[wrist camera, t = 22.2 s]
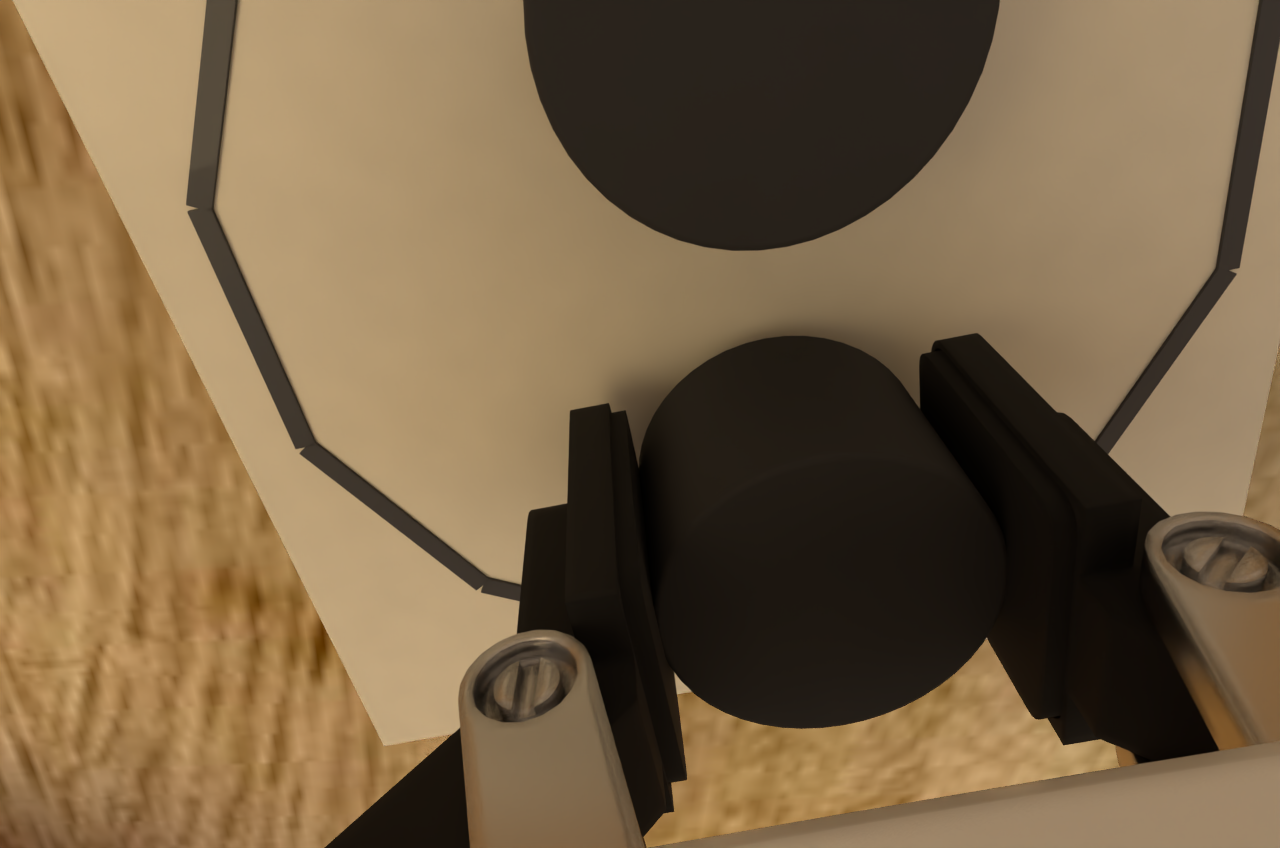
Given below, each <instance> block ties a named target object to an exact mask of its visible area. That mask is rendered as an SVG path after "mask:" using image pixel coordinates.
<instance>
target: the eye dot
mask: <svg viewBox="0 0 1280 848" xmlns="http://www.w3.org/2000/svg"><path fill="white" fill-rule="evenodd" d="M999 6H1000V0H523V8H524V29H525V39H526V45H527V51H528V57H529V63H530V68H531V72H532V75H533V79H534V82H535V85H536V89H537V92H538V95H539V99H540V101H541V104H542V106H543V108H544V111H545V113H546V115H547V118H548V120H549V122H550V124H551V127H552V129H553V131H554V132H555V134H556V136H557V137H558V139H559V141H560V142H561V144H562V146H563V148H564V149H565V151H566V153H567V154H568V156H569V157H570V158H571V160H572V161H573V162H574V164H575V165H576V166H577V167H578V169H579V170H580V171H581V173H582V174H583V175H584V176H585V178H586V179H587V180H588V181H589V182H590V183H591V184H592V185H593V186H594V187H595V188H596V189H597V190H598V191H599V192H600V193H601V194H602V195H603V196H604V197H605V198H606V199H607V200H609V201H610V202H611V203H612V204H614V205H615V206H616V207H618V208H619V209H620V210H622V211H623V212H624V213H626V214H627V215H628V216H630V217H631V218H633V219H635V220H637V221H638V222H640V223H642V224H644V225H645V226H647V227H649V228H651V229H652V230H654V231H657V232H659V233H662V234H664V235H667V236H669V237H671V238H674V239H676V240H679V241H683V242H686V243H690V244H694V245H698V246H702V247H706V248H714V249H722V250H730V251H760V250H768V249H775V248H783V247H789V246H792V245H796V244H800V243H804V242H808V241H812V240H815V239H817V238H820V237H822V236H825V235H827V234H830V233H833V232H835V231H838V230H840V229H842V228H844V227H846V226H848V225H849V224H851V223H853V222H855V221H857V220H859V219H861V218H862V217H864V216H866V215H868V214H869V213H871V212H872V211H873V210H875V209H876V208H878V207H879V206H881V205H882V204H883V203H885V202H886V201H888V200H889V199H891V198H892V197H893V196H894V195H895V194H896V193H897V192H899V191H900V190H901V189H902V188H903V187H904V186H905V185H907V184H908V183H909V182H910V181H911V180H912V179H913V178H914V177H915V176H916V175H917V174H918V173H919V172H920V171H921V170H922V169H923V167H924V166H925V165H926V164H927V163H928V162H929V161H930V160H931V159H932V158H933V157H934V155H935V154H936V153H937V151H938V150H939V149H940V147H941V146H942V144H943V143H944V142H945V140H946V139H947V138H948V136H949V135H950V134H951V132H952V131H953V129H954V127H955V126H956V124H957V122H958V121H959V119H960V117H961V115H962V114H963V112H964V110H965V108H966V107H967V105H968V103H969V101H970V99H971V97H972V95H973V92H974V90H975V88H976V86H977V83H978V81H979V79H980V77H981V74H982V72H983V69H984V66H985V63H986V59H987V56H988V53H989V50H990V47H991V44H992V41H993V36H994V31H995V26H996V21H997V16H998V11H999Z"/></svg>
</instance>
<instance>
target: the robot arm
mask: <svg viewBox="0 0 1280 848" xmlns="http://www.w3.org/2000/svg"><path fill="white" fill-rule="evenodd" d="M919 384H920V410H921V411H922V413H923V414H924V415H925V417H926V418H927V420H928V421H929V422H930V424H931V425H932V427H933V428H934V429H935V431H936V432H937V434H938V435H939V437H940V438H941V439H942V441H943V442H944V444H945V445H946V446H947V448H948V449H949V451H950V452H951V453H952V455H953V456H954V458H955V459H956V461H957V462H958V463H959V465H960V466H961V468H962V469H963V470H964V472H965V473H966V475H967V476H968V477H969V479H970V480H971V482H972V483H973V485H974V486H975V487H976V489H977V490H978V492H979V493H980V494H981V496H982V497H983V499H984V500H985V501H986V503H987V504H988V506H989V507H990V509H991V510H992V512H993V513H994V515H995V516H996V518H997V520H998V523H999V525H1000V527H1001V530H1002V532H1003V534H1004V538H1005V544H1006V550H1007V566H1006V589H1005V598H1004V602H1003V605H1002V609H1001V611H1000V613H999V616H998V618H997V620H996V622H995V624H994V626H993V628H992V630H991V631H990V633H989V634H988V636H987V639H988V641H989V642H990V644H991V646H992V648H993V649H994V651H995V653H996V655H997V656H998V658H999V660H1000V662H1001V663H1002V665H1003V667H1004V669H1005V670H1006V672H1007V674H1008V676H1009V677H1010V679H1011V681H1012V683H1013V684H1014V686H1015V688H1016V690H1017V691H1018V693H1019V695H1020V697H1021V698H1022V700H1023V702H1024V704H1025V705H1026V707H1027V709H1028V711H1029V712H1030V714H1031V715H1032V716H1033V717H1034V718H1035V719H1038V720H1039V719H1045V718H1048V720H1049V721H1050V723H1051V725H1052V727H1053V728H1054V730H1055V732H1056V733H1057V735H1058V737H1059V738H1060V740H1061V742H1062V743H1063V745H1068V744H1074V743H1080V742H1086V741H1092V740H1098V739H1102V740H1104V741H1106V742H1109V743H1111V744H1114V745H1116V753H1117V758H1118V763H1119V766H1120V767H1119V768H1113V769H1107V770H1101V771H1095V772H1089V773H1083V774H1077V775H1071V776H1065V777H1059V778H1053V779H1047V780H1041V781H1035V782H1029V783H1023V784H1017V785H1011V786H1005V787H999V788H993V789H987V790H981V791H975V792H969V793H964V794H958V795H952V796H946V797H940V798H934V799H928V800H922V801H916V802H910V803H905V804H899V805H893V806H887V807H881V808H875V809H869V810H863V811H857V812H851V813H846V814H840V815H834V816H828V817H823V818H817V819H811V820H805V821H800V822H794V823H788V824H782V825H777V826H771V827H765V828H759V829H754V830H748V831H742V832H736V833H731V834H725V835H719V836H713V837H708V838H702V839H696V840H690V841H685V842H679V843H673V844H668V845H662V846H656V847H650V848H1280V530H1278V529H1277V528H1275V527H1273V526H1271V525H1269V524H1266V523H1263V522H1260V521H1257V520H1254V519H1251V518H1248V517H1245V516H1240V515H1234V514H1229V513H1223V512H1197V511H1196V512H1190V513H1184V514H1177V515H1174V516H1170V515H1168V514H1167V513H1166V512H1165V511H1164V510H1163V509H1162V508H1161V507H1160V506H1159V505H1158V504H1157V503H1156V502H1155V501H1154V500H1153V499H1152V498H1151V497H1150V496H1149V495H1148V494H1147V493H1146V492H1145V491H1144V490H1143V489H1142V488H1141V487H1140V486H1139V485H1138V484H1137V483H1136V482H1135V481H1134V480H1133V479H1132V478H1131V477H1130V476H1129V475H1128V474H1127V473H1126V472H1125V471H1124V470H1123V469H1122V468H1121V467H1120V466H1119V465H1118V464H1117V463H1116V462H1115V461H1114V460H1113V459H1112V458H1111V457H1110V456H1109V455H1108V454H1107V453H1106V452H1105V451H1104V450H1103V449H1102V448H1101V447H1100V446H1099V445H1098V444H1097V443H1096V442H1095V441H1094V440H1093V439H1092V438H1091V437H1090V436H1089V435H1088V434H1087V433H1086V432H1085V431H1084V430H1083V429H1082V428H1081V427H1080V426H1079V425H1078V424H1077V423H1076V422H1075V421H1074V420H1073V419H1072V418H1071V417H1069V416H1068V415H1066V414H1065V413H1060V412H1056V411H1055V410H1054V409H1053V408H1052V407H1051V406H1050V405H1049V404H1048V403H1047V402H1046V401H1045V400H1044V399H1043V398H1042V397H1041V396H1040V395H1039V394H1038V393H1037V392H1036V391H1035V390H1034V389H1033V388H1032V386H1031V385H1030V384H1029V383H1028V382H1027V381H1026V380H1025V379H1024V378H1023V377H1022V376H1021V375H1020V374H1019V373H1018V372H1017V371H1016V370H1015V369H1014V368H1013V367H1012V366H1011V365H1010V364H1009V363H1008V362H1007V361H1006V360H1005V359H1004V358H1003V357H1002V356H1001V355H1000V354H999V353H998V352H997V351H996V350H995V349H994V348H993V347H992V346H991V345H990V344H989V343H988V342H987V341H986V340H985V339H984V338H983V337H982V336H981V335H980V334H978V333H974V334H968V335H963V336H958V337H953V338H947V339H942V340H937V341H935V342H934V343H933V345H932V349H931V352H929V353H924V354H921V356H920V360H919ZM458 708H459V720H460V728H459V729H458V730H457V731H456V732H455V733H453V734H452V735H451V736H450V737H449V738H448V739H447V740H446V741H444V742H443V743H442V744H441V745H440V746H439V747H438V748H437V749H435V750H434V751H433V752H432V753H431V754H430V755H429V756H428V757H426V758H425V759H424V760H423V761H422V762H421V763H420V764H418V765H417V766H416V767H415V768H414V769H413V770H412V771H411V772H409V773H408V774H407V775H406V776H405V777H404V778H403V779H402V780H400V781H399V782H398V783H397V784H396V785H395V786H394V787H393V788H391V789H390V790H389V791H388V792H387V793H386V794H385V795H384V796H382V797H381V798H380V799H379V800H378V801H377V802H376V803H374V804H373V805H372V806H371V807H370V808H369V809H368V810H367V811H365V812H364V813H363V814H362V815H361V816H360V817H359V818H358V819H356V820H355V821H354V822H353V823H352V824H351V825H350V826H349V827H347V828H346V829H345V830H344V831H343V832H342V833H341V834H340V835H338V836H337V837H336V838H335V839H334V840H333V841H332V842H330V843H329V844H328V845H327V846H326V847H325V848H646V844H645V841H644V836H645V834H646V833H647V832H648V831H649V830H650V829H651V827H652V826H653V825H654V824H655V823H656V822H657V820H658V819H659V818H660V817H661V816H662V814H663V813H669V812H674V806H673V796H672V787H671V782H677V781H683V780H687V772H686V763H685V755H684V747H683V739H682V731H681V723H680V715H679V707H678V699H677V691H676V683H675V675H674V671H673V670H672V668H671V667H670V666H669V664H668V663H667V660H666V657H665V653H664V649H663V645H662V641H661V637H660V632H659V628H658V623H657V619H656V615H655V610H654V604H653V596H652V587H651V577H650V568H649V558H648V549H647V539H646V530H645V520H644V511H643V501H642V492H641V482H640V472H639V467H638V462H637V458H636V453H635V449H634V444H633V440H632V435H631V431H630V426H629V422H628V417H627V413H626V410H623V411H618V412H613V413H612V412H611V408H610V405H609V403H606V404H600V405H595V406H590V407H585V408H579V409H574V410H570V420H569V457H568V494H567V503H566V504H561V505H555V506H550V507H544V508H539V509H534V510H531V511H530V512H529V514H528V519H527V529H526V539H525V550H524V561H523V571H522V582H521V592H520V603H519V613H518V624H517V634H515V635H513V636H510V637H508V638H506V639H503V640H501V641H499V642H497V643H496V644H494V645H493V646H491V647H490V648H489V649H487V650H486V651H484V652H483V653H481V654H480V655H479V657H478V658H477V659H476V660H475V661H474V662H473V663H472V664H471V665H470V667H469V668H468V669H467V671H466V673H465V675H464V677H463V679H462V681H461V683H460V688H459V696H458Z"/></svg>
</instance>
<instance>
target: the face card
mask: <svg viewBox="0 0 1280 848" xmlns="http://www.w3.org/2000/svg"><path fill="white" fill-rule="evenodd" d="M12 1H13V3H14V5H15V7H16V9H17V11H18V13H19V15H20V17H21V19H22V21H23V23H24V25H25V27H26V29H27V31H28V33H29V35H30V37H31V39H32V41H33V43H34V45H35V47H36V49H37V51H38V53H39V55H40V57H41V59H42V61H43V63H44V65H45V67H46V69H47V71H48V73H49V75H50V77H51V79H52V81H53V83H54V85H55V87H56V89H57V91H58V93H59V95H60V97H61V99H62V101H63V103H64V105H65V107H66V109H67V111H68V113H69V115H70V117H71V119H72V121H73V123H74V125H75V127H76V129H77V131H78V133H79V135H80V137H81V139H82V141H83V143H84V145H85V147H86V149H87V151H88V153H89V155H90V157H91V159H92V161H93V163H94V165H95V167H96V169H97V171H98V173H99V175H100V177H101V179H102V181H103V183H104V185H105V187H106V189H107V191H108V193H109V195H110V197H111V199H112V201H113V203H114V205H115V207H116V209H117V211H118V213H119V215H120V218H121V220H122V222H123V224H124V226H125V228H126V230H127V232H128V234H129V236H130V238H131V240H132V242H133V244H134V246H135V248H136V250H137V252H138V254H139V256H140V258H141V260H142V262H143V264H144V266H145V268H146V270H147V272H148V274H149V276H150V278H151V280H152V282H153V284H154V286H155V288H156V290H157V292H158V294H159V296H160V298H161V300H162V302H163V304H164V306H165V308H166V310H167V312H168V314H169V316H170V318H171V320H172V322H173V324H174V326H175V328H176V330H177V332H178V334H179V336H180V338H181V340H182V342H183V344H184V346H185V348H186V350H187V352H188V354H189V356H190V358H191V360H192V362H193V364H194V366H195V368H196V370H197V372H198V374H199V376H200V378H201V380H202V382H203V384H204V386H205V388H206V390H207V392H208V394H209V396H210V398H211V400H212V402H213V404H214V406H215V408H216V410H217V412H218V414H219V416H220V418H221V420H222V422H223V424H224V426H225V428H226V430H227V432H228V434H229V436H230V438H231V440H232V442H233V444H234V446H235V448H236V450H237V452H238V454H239V456H240V458H241V460H242V462H243V464H244V466H245V468H246V470H247V472H248V474H249V476H250V478H251V480H252V482H253V484H254V486H255V488H256V490H257V492H258V494H259V496H260V498H261V500H262V502H263V504H264V506H265V508H266V510H267V512H268V515H269V517H270V519H271V521H272V523H273V525H274V527H275V529H276V531H277V533H278V535H279V537H280V539H281V541H282V543H283V545H284V547H285V549H286V551H287V553H288V555H289V557H290V559H291V561H292V563H293V565H294V567H295V569H296V571H297V573H298V575H299V577H300V579H301V581H302V583H303V585H304V587H305V589H306V591H307V593H308V595H309V597H310V599H311V601H312V603H313V605H314V607H315V609H316V611H317V613H318V615H319V617H320V619H321V621H322V623H323V625H324V627H325V629H326V631H327V633H328V635H329V637H330V639H331V641H332V643H333V645H334V647H335V649H336V651H337V653H338V655H339V657H340V659H341V661H342V663H343V665H344V667H345V669H346V671H347V673H348V675H349V677H350V679H351V681H352V683H353V685H354V687H355V689H356V691H357V693H358V695H359V697H360V699H361V701H362V703H363V705H364V707H365V709H366V711H367V713H368V715H369V717H370V719H371V721H372V723H373V725H374V727H375V729H376V731H377V733H378V735H379V737H380V739H381V741H382V743H383V745H384V746H389V745H394V744H400V743H406V742H411V741H417V740H423V739H428V738H434V737H440V736H445V735H451V734H453V733H455V732H456V731H457V730H458V729H459V728H460V720H459V708H458V696H459V688H460V683H461V681H462V679H463V677H464V675H465V673H466V671H467V669H468V668H469V667H470V665H471V664H472V663H473V662H474V661H475V660H476V659H477V658H478V657H479V655H480V654H481V653H483V652H484V651H486V650H487V649H489V648H490V647H491V646H493V645H494V644H496V643H497V642H499V641H501V640H503V639H506V638H508V637H510V636H513V635H515V634H517V624H518V613H519V603H520V592H521V582H522V571H523V561H524V550H525V539H526V529H527V519H528V514H529V512H530V511H531V510H534V509H539V508H544V507H550V506H555V505H561V504H566V503H567V494H568V457H569V420H570V410H574V409H579V408H585V407H590V406H595V405H600V404H606V403H609V405H610V408H611V412H612V413H613V412H618V411H623V410H626V413H627V417H628V422H629V426H630V431H631V435H632V440H633V444H634V449H635V453H636V458H637V462H638V467H639V457H640V451H641V445H642V442H643V439H644V436H645V433H646V430H647V428H648V426H649V423H650V421H651V419H652V417H653V415H654V413H655V412H656V410H657V409H658V407H659V406H660V404H661V403H662V402H663V400H664V399H665V397H666V396H667V395H668V394H669V393H670V392H671V391H672V389H673V388H674V387H675V386H676V385H677V384H678V383H679V382H680V381H681V380H682V379H683V378H685V377H686V376H687V375H688V374H689V373H690V372H691V371H693V370H694V369H696V368H697V367H699V366H700V365H701V364H703V363H704V362H706V361H707V360H709V359H711V358H713V357H715V356H717V355H718V354H720V353H722V352H724V351H726V350H729V349H731V348H734V347H737V346H739V345H742V344H745V343H748V342H752V341H756V340H760V339H764V338H772V337H780V336H811V337H819V338H826V339H830V340H834V341H838V342H842V343H845V344H848V345H850V346H853V347H855V348H858V349H860V350H862V351H864V352H865V353H867V354H869V355H871V356H872V357H874V358H876V359H877V360H878V361H880V362H881V363H882V364H883V365H885V366H886V367H887V368H888V369H889V370H890V371H891V372H892V373H893V374H894V375H895V376H896V377H897V378H898V379H899V380H900V381H901V383H902V384H903V386H904V387H905V389H906V390H907V391H908V393H909V394H910V396H911V397H912V398H913V400H914V401H915V403H916V404H917V405H918V407H919V408H920V384H919V360H920V356H921V354H924V353H929V352H931V349H932V345H933V343H934V342H935V341H937V340H942V339H947V338H953V337H958V336H963V335H968V334H974V333H978V334H980V335H981V336H982V337H983V338H984V339H985V340H986V341H987V342H988V343H989V344H990V345H991V346H992V347H993V348H994V349H995V350H996V351H997V352H998V353H999V354H1000V355H1001V356H1002V357H1003V358H1004V359H1005V360H1006V361H1007V362H1008V363H1009V364H1010V365H1011V366H1012V367H1013V368H1014V369H1015V370H1016V371H1017V372H1018V373H1019V374H1020V375H1021V376H1022V377H1023V378H1024V379H1025V380H1026V381H1027V382H1028V383H1029V384H1030V385H1031V386H1032V388H1033V389H1034V390H1035V391H1036V392H1037V393H1038V394H1039V395H1040V396H1041V397H1042V398H1043V399H1044V400H1045V401H1046V402H1047V403H1048V404H1049V405H1050V406H1051V407H1052V408H1053V409H1054V410H1055V411H1056V412H1060V413H1065V414H1066V415H1068V416H1069V417H1071V418H1072V419H1073V420H1074V421H1075V422H1076V423H1077V424H1078V425H1079V426H1080V427H1081V428H1082V429H1083V430H1084V431H1085V432H1086V433H1087V434H1088V435H1089V436H1090V437H1091V438H1092V439H1093V440H1094V441H1095V442H1096V443H1097V444H1098V445H1099V446H1100V447H1101V448H1102V449H1103V450H1104V451H1105V452H1106V453H1107V454H1108V455H1109V456H1110V457H1111V458H1112V459H1113V460H1114V461H1115V462H1116V463H1117V464H1118V465H1119V466H1120V467H1121V468H1122V469H1123V470H1124V471H1125V472H1126V473H1127V474H1128V475H1129V476H1130V477H1131V478H1132V479H1133V480H1134V481H1135V482H1136V483H1137V484H1138V485H1139V486H1140V487H1141V488H1142V489H1143V490H1144V491H1145V492H1146V493H1147V494H1148V495H1149V496H1150V497H1151V498H1152V499H1153V500H1154V501H1155V502H1156V503H1157V504H1158V505H1159V506H1160V507H1161V508H1162V509H1163V510H1164V511H1165V512H1166V513H1167V514H1168V515H1170V516H1174V515H1177V514H1184V513H1190V512H1196V511H1197V512H1223V513H1229V514H1234V515H1240V516H1243V514H1244V509H1245V504H1246V499H1247V495H1248V490H1249V485H1250V481H1251V476H1252V471H1253V466H1254V462H1255V457H1256V452H1257V448H1258V443H1259V438H1260V434H1261V429H1262V424H1263V419H1264V415H1265V410H1266V405H1267V401H1268V396H1269V391H1270V386H1271V382H1272V377H1273V372H1274V368H1275V363H1276V358H1277V353H1278V349H1279V344H1280V0H1000V6H999V11H998V16H997V21H996V26H995V31H994V36H993V41H992V44H991V47H990V50H989V53H988V56H987V59H986V63H985V66H984V69H983V72H982V74H981V77H980V79H979V81H978V83H977V86H976V88H975V90H974V92H973V95H972V97H971V99H970V101H969V103H968V105H967V107H966V108H965V110H964V112H963V114H962V115H961V117H960V119H959V121H958V122H957V124H956V126H955V127H954V129H953V131H952V132H951V134H950V135H949V136H948V138H947V139H946V140H945V142H944V143H943V144H942V146H941V147H940V149H939V150H938V151H937V153H936V154H935V155H934V157H933V158H932V159H931V160H930V161H929V162H928V163H927V164H926V165H925V166H924V167H923V169H922V170H921V171H920V172H919V173H918V174H917V175H916V176H915V177H914V178H913V179H912V180H911V181H910V182H909V183H908V184H907V185H905V186H904V187H903V188H902V189H901V190H900V191H899V192H897V193H896V194H895V195H894V196H893V197H892V198H891V199H889V200H888V201H886V202H885V203H883V204H882V205H881V206H879V207H878V208H876V209H875V210H873V211H872V212H871V213H869V214H868V215H866V216H864V217H862V218H861V219H859V220H857V221H855V222H853V223H851V224H849V225H848V226H846V227H844V228H842V229H840V230H838V231H835V232H833V233H830V234H827V235H825V236H822V237H820V238H817V239H815V240H812V241H808V242H804V243H800V244H796V245H792V246H789V247H783V248H775V249H768V250H760V251H730V250H722V249H714V248H706V247H702V246H698V245H694V244H690V243H686V242H683V241H679V240H676V239H674V238H671V237H669V236H667V235H664V234H662V233H659V232H657V231H654V230H652V229H651V228H649V227H647V226H645V225H644V224H642V223H640V222H638V221H637V220H635V219H633V218H631V217H630V216H628V215H627V214H626V213H624V212H623V211H622V210H620V209H619V208H618V207H616V206H615V205H614V204H612V203H611V202H610V201H609V200H607V199H606V198H605V197H604V196H603V195H602V194H601V193H600V192H599V191H598V190H597V189H596V188H595V187H594V186H593V185H592V184H591V183H590V182H589V181H588V180H587V179H586V178H585V176H584V175H583V174H582V173H581V171H580V170H579V169H578V167H577V166H576V165H575V164H574V162H573V161H572V160H571V158H570V157H569V156H568V154H567V153H566V151H565V149H564V148H563V146H562V144H561V142H560V141H559V139H558V137H557V136H556V134H555V132H554V131H553V129H552V127H551V124H550V122H549V120H548V118H547V115H546V113H545V111H544V108H543V106H542V104H541V101H540V99H539V95H538V92H537V89H536V85H535V82H534V79H533V75H532V72H531V68H530V63H529V57H528V51H527V45H526V39H525V29H524V8H523V0H12ZM985 640H987V638H986V639H985ZM674 675H675V683H676V691H677V694H682V693H688V692H692V691H691V690H690V689H689V688H688V687H687V686H686V685H685V684H684V683H683V682H682V681H681V680H680V679H679V678H678V676H677V675H676V674H675V672H674Z"/></svg>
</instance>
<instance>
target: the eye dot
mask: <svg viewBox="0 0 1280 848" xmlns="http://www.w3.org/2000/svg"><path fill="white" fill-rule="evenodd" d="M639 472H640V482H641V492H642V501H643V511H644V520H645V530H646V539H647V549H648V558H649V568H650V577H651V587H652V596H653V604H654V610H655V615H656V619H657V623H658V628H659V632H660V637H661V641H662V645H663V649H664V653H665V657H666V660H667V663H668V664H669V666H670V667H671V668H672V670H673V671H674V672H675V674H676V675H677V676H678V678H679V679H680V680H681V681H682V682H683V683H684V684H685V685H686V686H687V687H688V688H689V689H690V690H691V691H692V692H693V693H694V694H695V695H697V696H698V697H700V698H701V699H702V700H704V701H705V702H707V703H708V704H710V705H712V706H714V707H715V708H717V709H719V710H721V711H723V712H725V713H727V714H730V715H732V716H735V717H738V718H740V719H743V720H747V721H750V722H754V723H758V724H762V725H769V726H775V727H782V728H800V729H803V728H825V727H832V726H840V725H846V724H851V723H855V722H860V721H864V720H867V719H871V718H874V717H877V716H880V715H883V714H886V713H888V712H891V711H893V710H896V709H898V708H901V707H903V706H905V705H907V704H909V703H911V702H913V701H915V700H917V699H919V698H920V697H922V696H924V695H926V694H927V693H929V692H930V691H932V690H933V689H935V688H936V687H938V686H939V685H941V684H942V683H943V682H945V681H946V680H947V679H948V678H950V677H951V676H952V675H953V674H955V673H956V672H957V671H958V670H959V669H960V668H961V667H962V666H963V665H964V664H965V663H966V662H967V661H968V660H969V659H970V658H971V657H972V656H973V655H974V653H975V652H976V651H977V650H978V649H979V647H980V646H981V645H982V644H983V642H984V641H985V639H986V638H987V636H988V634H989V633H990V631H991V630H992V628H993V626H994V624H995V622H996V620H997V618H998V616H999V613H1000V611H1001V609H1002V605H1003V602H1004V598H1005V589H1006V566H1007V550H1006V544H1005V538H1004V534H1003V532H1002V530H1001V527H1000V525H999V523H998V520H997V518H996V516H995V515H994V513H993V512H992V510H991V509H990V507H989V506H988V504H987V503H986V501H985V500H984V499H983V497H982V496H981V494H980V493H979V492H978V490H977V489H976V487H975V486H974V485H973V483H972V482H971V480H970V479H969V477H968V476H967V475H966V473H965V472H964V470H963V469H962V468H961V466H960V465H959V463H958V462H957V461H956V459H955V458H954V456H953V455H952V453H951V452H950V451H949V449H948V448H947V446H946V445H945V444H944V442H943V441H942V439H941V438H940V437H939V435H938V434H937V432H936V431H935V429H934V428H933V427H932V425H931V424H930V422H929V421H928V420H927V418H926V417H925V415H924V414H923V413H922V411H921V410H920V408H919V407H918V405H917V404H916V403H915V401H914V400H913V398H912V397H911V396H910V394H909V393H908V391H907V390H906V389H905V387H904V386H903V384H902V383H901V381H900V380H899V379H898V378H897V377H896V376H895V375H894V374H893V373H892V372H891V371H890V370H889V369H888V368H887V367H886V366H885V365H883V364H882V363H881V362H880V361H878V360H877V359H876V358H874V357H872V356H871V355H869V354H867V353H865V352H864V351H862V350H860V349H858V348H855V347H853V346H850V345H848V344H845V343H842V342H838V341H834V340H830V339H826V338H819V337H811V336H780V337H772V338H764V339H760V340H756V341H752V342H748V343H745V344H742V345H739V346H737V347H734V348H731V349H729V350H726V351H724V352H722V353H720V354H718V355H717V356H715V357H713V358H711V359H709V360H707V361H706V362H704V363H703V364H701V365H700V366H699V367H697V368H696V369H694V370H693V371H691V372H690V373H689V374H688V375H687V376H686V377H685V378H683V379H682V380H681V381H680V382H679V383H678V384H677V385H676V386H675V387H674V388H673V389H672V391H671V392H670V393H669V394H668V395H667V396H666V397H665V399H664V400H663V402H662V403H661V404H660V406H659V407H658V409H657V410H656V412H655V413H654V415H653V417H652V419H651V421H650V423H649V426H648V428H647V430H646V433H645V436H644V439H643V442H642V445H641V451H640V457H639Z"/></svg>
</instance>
